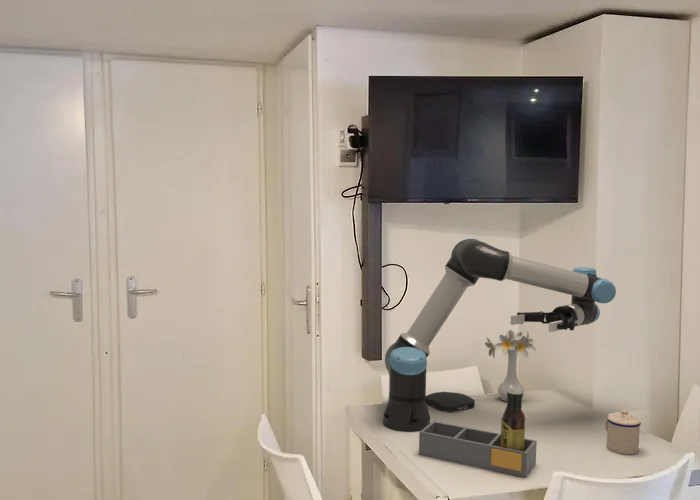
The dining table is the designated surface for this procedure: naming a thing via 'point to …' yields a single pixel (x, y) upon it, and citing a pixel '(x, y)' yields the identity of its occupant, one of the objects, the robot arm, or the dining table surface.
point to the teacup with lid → (623, 433)
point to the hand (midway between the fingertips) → (530, 323)
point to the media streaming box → (449, 401)
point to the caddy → (475, 448)
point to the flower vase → (511, 358)
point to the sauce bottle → (513, 422)
